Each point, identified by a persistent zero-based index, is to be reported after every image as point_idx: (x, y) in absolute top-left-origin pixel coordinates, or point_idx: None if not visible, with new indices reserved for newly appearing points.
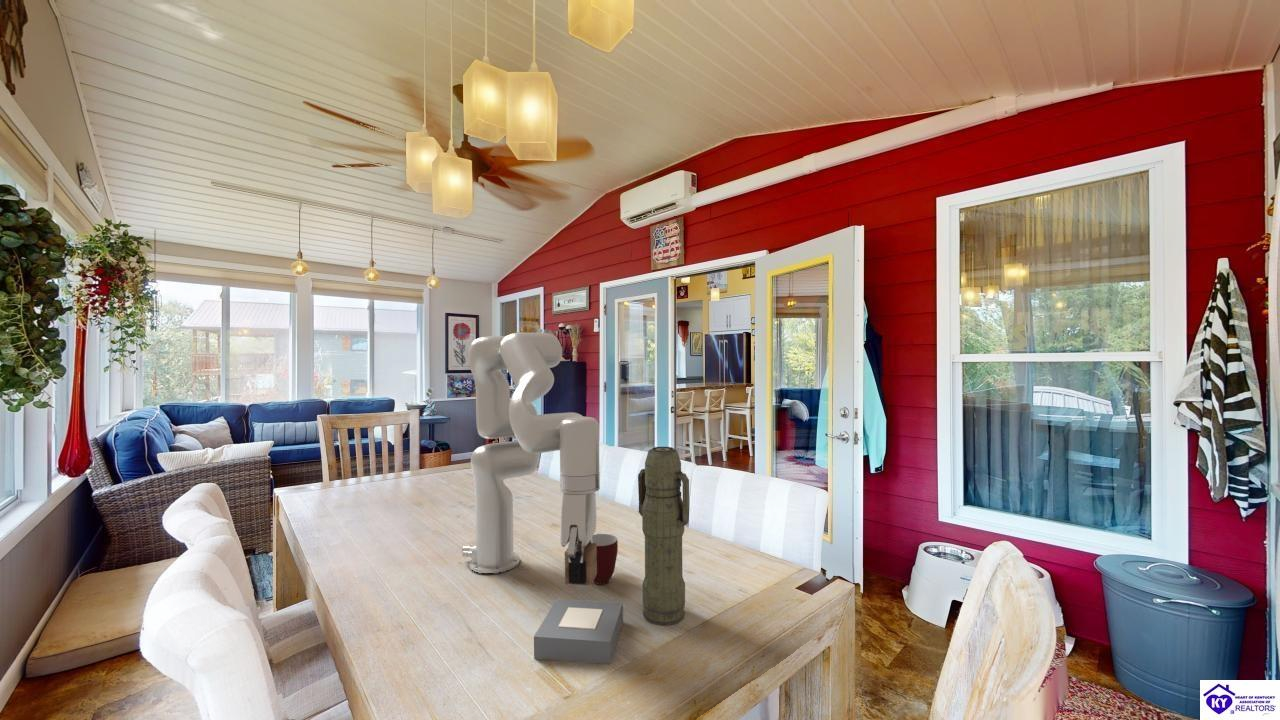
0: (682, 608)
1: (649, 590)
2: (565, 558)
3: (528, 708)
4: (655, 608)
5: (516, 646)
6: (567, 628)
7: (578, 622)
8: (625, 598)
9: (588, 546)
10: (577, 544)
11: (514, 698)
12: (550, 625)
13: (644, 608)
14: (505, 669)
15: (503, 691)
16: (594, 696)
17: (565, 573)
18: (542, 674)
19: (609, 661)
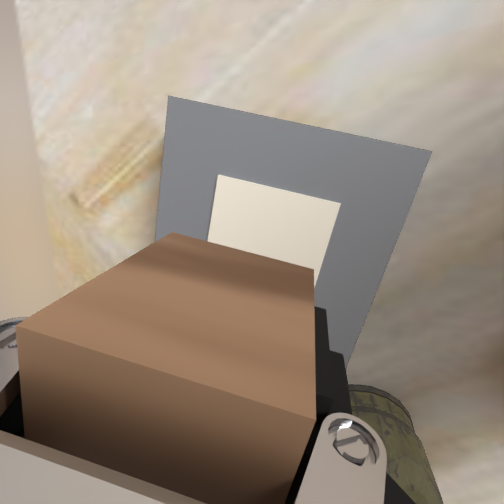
0: None
1: None
2: (65, 299)
3: (35, 121)
4: None
5: (257, 33)
6: (210, 204)
7: (235, 238)
8: (478, 361)
9: None
10: (236, 463)
11: (57, 82)
12: (231, 146)
13: (356, 402)
14: (151, 26)
15: (74, 46)
16: (81, 251)
17: (143, 252)
18: (136, 138)
19: None
